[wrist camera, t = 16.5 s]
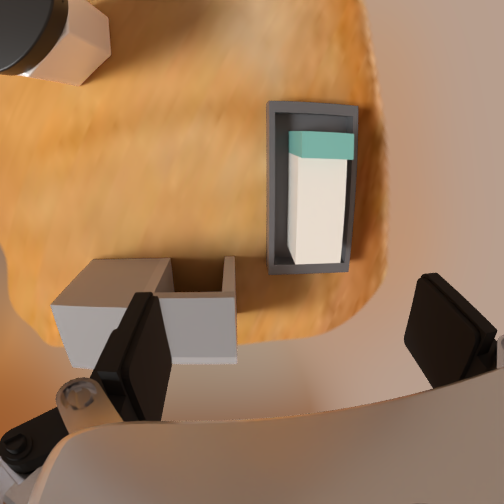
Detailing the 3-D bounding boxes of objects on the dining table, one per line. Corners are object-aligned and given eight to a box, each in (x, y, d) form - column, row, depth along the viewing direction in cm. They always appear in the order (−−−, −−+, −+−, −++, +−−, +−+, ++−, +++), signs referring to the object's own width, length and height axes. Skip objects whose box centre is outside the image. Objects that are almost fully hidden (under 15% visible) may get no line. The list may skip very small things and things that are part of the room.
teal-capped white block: (288, 131, 28) (302, 131, 22) (330, 132, 28) (354, 133, 22) (286, 244, 32) (298, 271, 26) (325, 243, 32) (345, 270, 26)
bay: (92, 259, 32) (50, 304, 23) (234, 256, 33) (234, 307, 23) (104, 312, 35) (72, 367, 25) (236, 313, 35) (237, 375, 26)
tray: (266, 103, 27) (268, 100, 25) (348, 107, 28) (358, 106, 25) (266, 264, 33) (268, 274, 31) (341, 262, 34) (348, 271, 31)
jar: (128, 19, 23) (77, -27, 12) (97, 92, 26) (28, 79, 15) (61, 10, 22) (-2, -23, 11) (33, 77, 24) (-41, 69, 13)
